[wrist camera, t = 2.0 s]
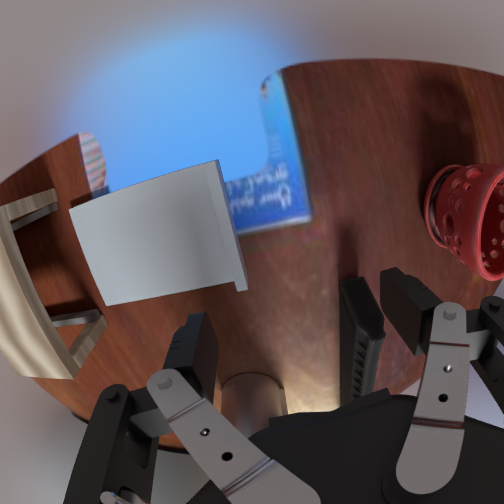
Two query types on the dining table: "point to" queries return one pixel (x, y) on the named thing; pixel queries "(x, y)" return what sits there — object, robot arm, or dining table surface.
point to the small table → (36, 306)
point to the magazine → (359, 339)
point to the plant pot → (468, 215)
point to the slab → (162, 236)
